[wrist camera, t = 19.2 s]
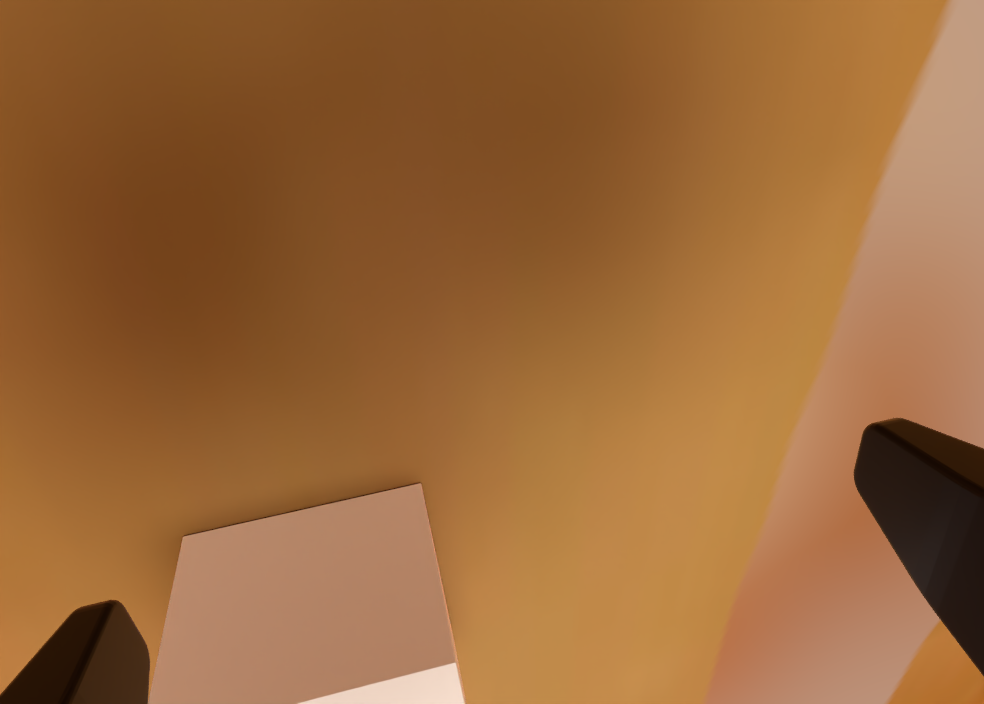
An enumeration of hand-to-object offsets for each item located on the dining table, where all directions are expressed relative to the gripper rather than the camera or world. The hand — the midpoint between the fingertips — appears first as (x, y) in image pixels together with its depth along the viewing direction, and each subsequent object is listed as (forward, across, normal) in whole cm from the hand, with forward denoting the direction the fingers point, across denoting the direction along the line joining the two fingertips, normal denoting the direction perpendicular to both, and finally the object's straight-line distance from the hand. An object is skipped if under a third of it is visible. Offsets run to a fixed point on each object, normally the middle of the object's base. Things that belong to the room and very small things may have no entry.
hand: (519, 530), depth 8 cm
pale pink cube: (+12, +5, +14) cm, 19 cm away
